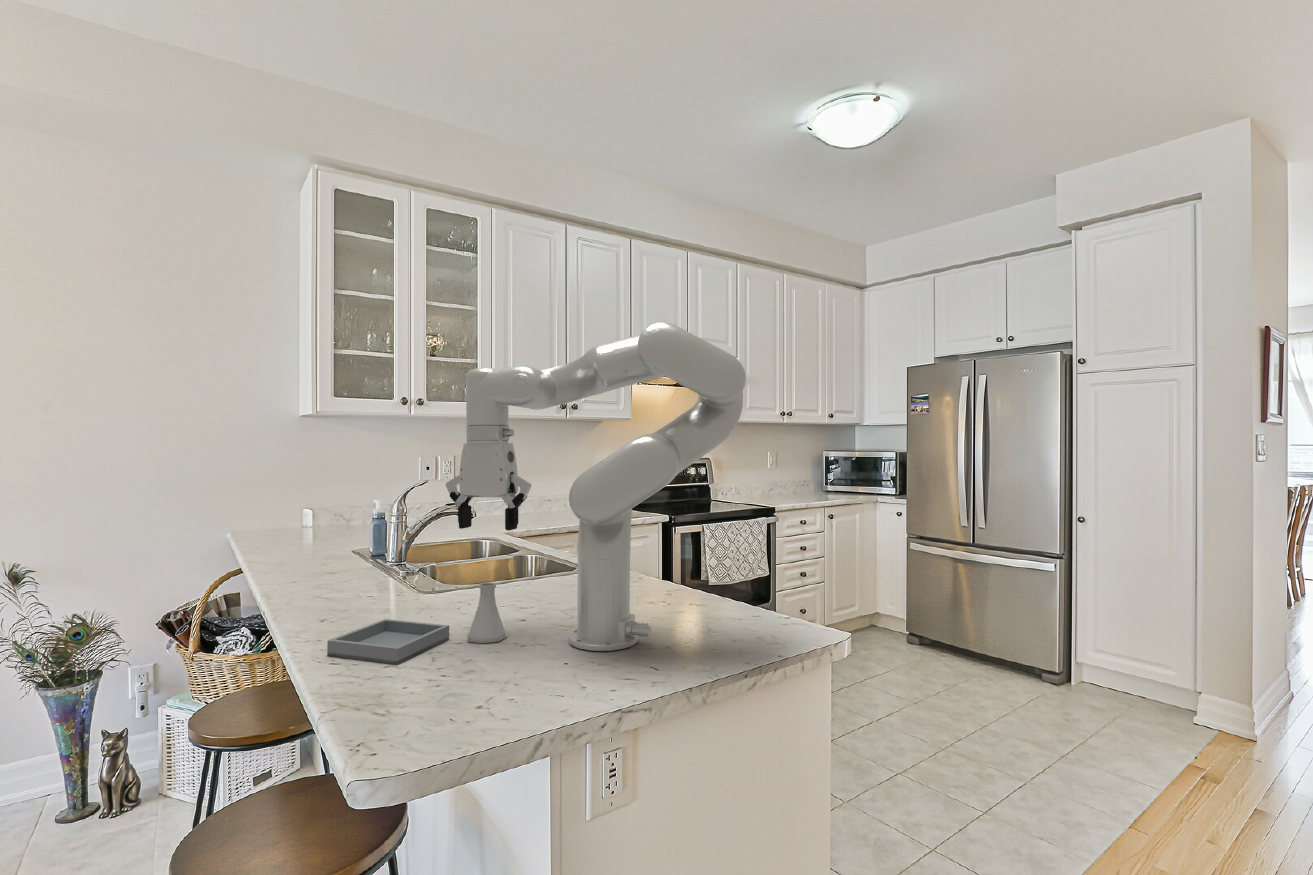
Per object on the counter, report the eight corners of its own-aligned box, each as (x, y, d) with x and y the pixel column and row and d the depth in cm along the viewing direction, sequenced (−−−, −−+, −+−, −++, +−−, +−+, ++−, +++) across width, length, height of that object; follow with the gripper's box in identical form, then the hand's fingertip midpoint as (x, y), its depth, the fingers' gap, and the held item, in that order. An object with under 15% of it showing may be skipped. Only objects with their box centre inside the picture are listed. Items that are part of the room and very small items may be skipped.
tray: (449, 639, 118) (449, 625, 118) (397, 664, 105) (397, 648, 105) (385, 632, 122) (385, 618, 122) (327, 655, 109) (327, 640, 109)
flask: (501, 644, 116) (502, 588, 116) (461, 644, 116) (461, 588, 116) (511, 633, 123) (511, 580, 123) (473, 632, 123) (473, 579, 123)
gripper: (539, 435, 121) (539, 527, 121) (459, 436, 126) (459, 524, 126) (519, 435, 114) (519, 533, 113) (435, 436, 119) (435, 529, 119)
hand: (487, 528), depth 120 cm, fingers open, 9 cm apart
